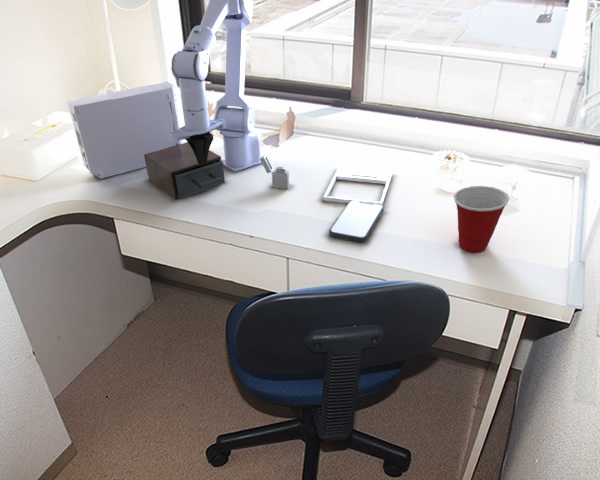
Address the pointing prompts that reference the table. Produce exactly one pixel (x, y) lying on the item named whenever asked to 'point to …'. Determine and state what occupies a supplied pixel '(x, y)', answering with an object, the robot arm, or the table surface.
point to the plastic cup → (478, 215)
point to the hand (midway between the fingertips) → (202, 163)
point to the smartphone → (356, 221)
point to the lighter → (276, 174)
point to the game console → (124, 127)
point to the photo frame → (362, 177)
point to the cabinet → (172, 165)
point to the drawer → (199, 178)
